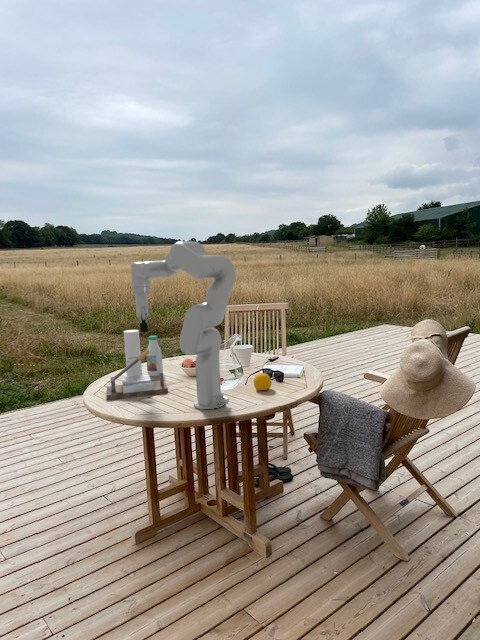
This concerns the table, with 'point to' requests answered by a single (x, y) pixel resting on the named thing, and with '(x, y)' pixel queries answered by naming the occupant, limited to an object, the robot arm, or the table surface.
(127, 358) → the cylindrical container
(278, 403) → the table surface
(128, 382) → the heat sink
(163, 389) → the mounting board
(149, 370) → the milk bottle
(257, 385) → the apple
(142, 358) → the lever
